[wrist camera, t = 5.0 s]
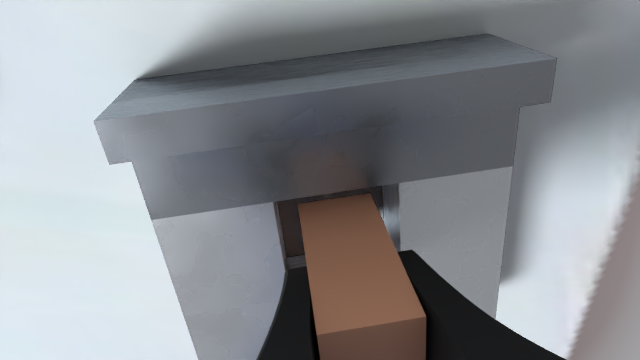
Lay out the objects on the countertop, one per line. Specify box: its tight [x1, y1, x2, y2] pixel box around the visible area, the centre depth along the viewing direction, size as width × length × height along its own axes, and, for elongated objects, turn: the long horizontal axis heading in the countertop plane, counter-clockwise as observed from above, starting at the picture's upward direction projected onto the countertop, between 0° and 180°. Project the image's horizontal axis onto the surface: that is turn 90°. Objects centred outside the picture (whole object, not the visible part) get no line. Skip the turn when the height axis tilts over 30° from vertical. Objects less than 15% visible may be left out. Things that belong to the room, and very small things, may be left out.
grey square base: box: [94, 34, 557, 360], centre depth 16 cm, size 12×12×4 cm
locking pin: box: [298, 193, 426, 360], centre depth 13 cm, size 3×3×6 cm
